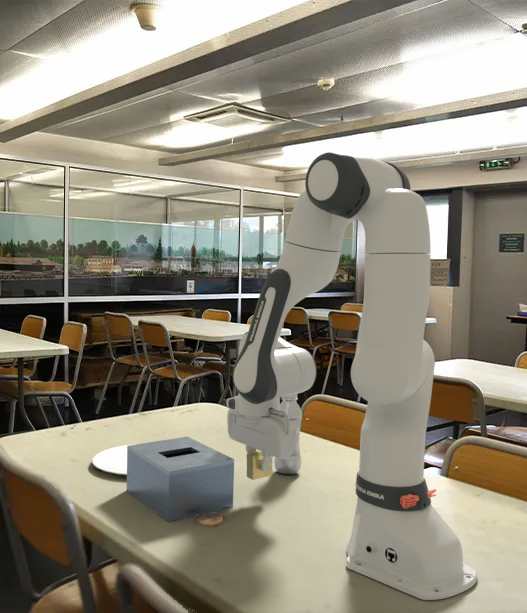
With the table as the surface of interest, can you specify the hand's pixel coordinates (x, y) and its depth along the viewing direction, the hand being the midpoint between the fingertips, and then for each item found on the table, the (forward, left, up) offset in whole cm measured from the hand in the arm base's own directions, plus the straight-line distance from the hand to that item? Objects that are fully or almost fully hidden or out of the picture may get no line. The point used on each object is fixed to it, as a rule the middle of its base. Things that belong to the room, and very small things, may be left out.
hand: (259, 468), depth 133 cm
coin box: (+10, +14, -7) cm, 19 cm away
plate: (+35, +11, -7) cm, 37 cm away
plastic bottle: (+11, -16, -7) cm, 21 cm away
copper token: (-4, +15, -7) cm, 17 cm away
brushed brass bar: (0, 0, -2) cm, 2 cm away
